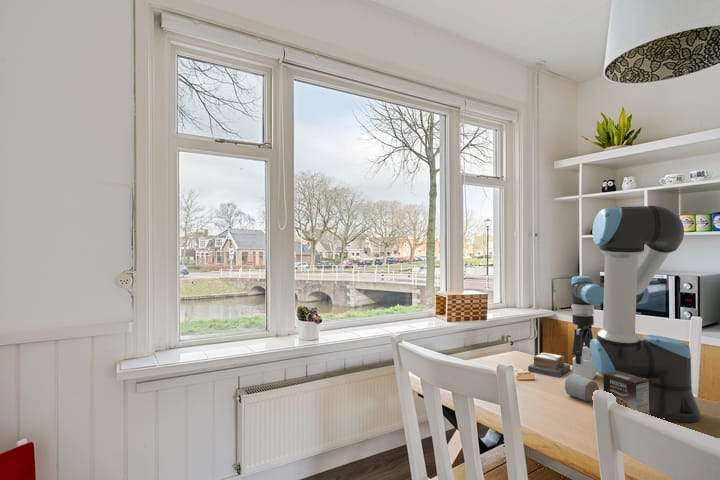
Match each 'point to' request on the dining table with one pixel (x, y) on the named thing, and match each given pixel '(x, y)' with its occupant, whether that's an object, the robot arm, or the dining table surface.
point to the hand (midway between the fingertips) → (584, 368)
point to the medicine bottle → (586, 364)
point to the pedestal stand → (549, 364)
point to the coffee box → (628, 390)
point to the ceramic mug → (580, 387)
